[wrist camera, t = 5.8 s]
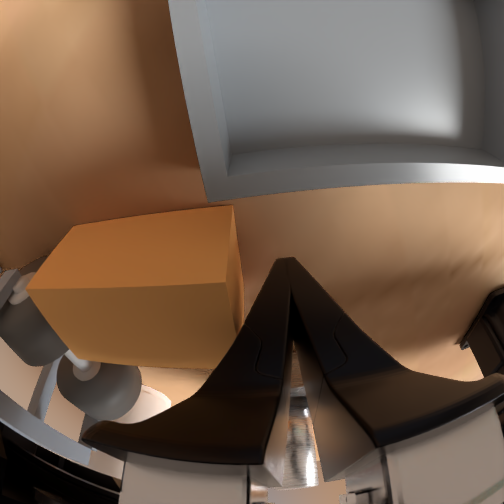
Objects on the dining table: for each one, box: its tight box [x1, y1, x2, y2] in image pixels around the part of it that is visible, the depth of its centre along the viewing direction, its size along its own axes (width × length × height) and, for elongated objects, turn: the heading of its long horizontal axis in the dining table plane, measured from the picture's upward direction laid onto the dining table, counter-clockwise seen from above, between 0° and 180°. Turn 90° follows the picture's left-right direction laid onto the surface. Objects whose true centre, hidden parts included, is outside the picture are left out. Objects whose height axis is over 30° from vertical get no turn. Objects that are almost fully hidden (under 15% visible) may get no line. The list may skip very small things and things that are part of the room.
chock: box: [25, 205, 244, 369], centre depth 9 cm, size 7×4×4 cm, turn 95°
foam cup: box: [71, 385, 171, 479], centre depth 14 cm, size 10×9×13 cm
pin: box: [275, 395, 319, 490], centre depth 14 cm, size 2×2×8 cm
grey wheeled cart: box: [0, 255, 142, 466], centre depth 9 cm, size 9×10×10 cm
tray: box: [168, 0, 504, 203], centre depth 5 cm, size 11×8×2 cm
